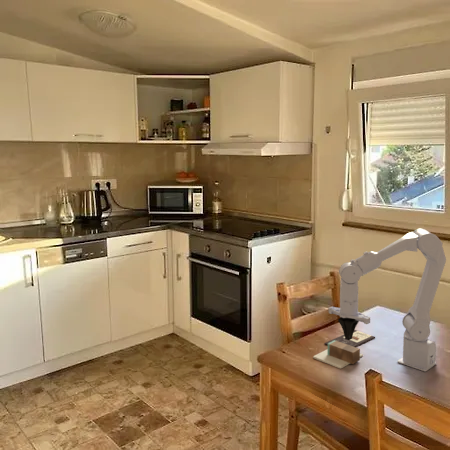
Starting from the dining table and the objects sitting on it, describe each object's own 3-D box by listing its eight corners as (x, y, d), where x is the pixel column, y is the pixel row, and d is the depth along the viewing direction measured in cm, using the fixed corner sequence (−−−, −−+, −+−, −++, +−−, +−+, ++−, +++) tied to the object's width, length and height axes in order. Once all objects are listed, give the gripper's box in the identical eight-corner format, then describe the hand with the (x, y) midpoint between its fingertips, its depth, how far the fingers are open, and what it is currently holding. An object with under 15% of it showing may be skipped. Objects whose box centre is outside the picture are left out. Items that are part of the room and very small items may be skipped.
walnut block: (359, 348, 151) (334, 340, 158) (353, 352, 148) (327, 343, 155) (359, 360, 151) (334, 350, 159) (353, 364, 149) (327, 354, 156)
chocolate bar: (324, 343, 166) (354, 329, 176) (324, 345, 166) (354, 332, 177) (344, 351, 159) (375, 336, 169) (344, 353, 159) (375, 339, 170)
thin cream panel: (362, 356, 155) (362, 354, 155) (340, 368, 147) (340, 367, 147) (335, 346, 164) (335, 344, 164) (313, 358, 155) (313, 356, 155)
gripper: (323, 297, 152) (323, 336, 154) (362, 307, 141) (361, 349, 143) (335, 292, 156) (335, 330, 158) (374, 302, 145) (373, 342, 148)
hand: (348, 338), depth 151 cm, fingers closed
